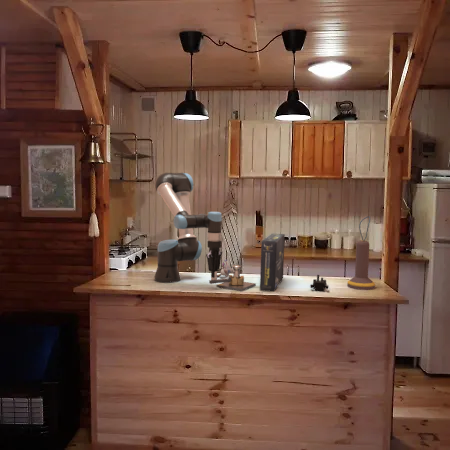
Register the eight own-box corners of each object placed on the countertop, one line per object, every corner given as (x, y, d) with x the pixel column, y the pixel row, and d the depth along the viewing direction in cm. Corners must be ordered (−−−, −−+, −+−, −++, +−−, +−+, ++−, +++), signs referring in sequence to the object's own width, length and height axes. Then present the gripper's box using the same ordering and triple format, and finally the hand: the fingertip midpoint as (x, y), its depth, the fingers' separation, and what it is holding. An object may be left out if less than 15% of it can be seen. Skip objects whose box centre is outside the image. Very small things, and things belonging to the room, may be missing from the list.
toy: (311, 282, 290) (310, 291, 260) (312, 274, 289) (310, 282, 260) (327, 283, 288) (328, 292, 258) (328, 275, 288) (328, 283, 258)
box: (275, 292, 257) (277, 240, 254) (259, 290, 259) (260, 240, 256) (284, 279, 291) (285, 233, 288) (269, 278, 293) (270, 233, 290)
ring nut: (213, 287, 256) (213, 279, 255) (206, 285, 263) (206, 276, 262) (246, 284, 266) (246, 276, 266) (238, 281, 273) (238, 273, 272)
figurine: (232, 279, 301) (228, 280, 286) (218, 276, 303) (214, 277, 288) (236, 261, 301) (233, 262, 287) (223, 258, 303) (219, 258, 288)
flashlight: (350, 216, 264) (350, 215, 278) (347, 288, 267) (347, 283, 282) (379, 217, 260) (377, 215, 274) (375, 290, 264) (374, 285, 278)
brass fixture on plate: (216, 287, 265) (216, 266, 264) (231, 282, 279) (231, 262, 277) (241, 291, 257) (242, 269, 256) (255, 286, 270) (256, 265, 269)
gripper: (213, 242, 254) (213, 286, 256) (226, 239, 265) (225, 281, 267) (202, 241, 257) (201, 284, 260) (215, 238, 269) (214, 280, 271)
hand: (213, 283), depth 263 cm, fingers closed
